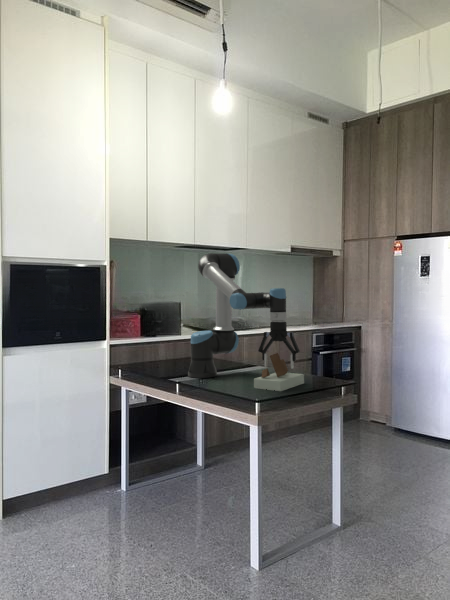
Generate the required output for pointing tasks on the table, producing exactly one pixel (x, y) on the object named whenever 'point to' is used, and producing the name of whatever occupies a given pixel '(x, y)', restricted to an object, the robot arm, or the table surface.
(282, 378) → the sage base block
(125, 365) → the table surface
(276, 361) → the wooden block set
